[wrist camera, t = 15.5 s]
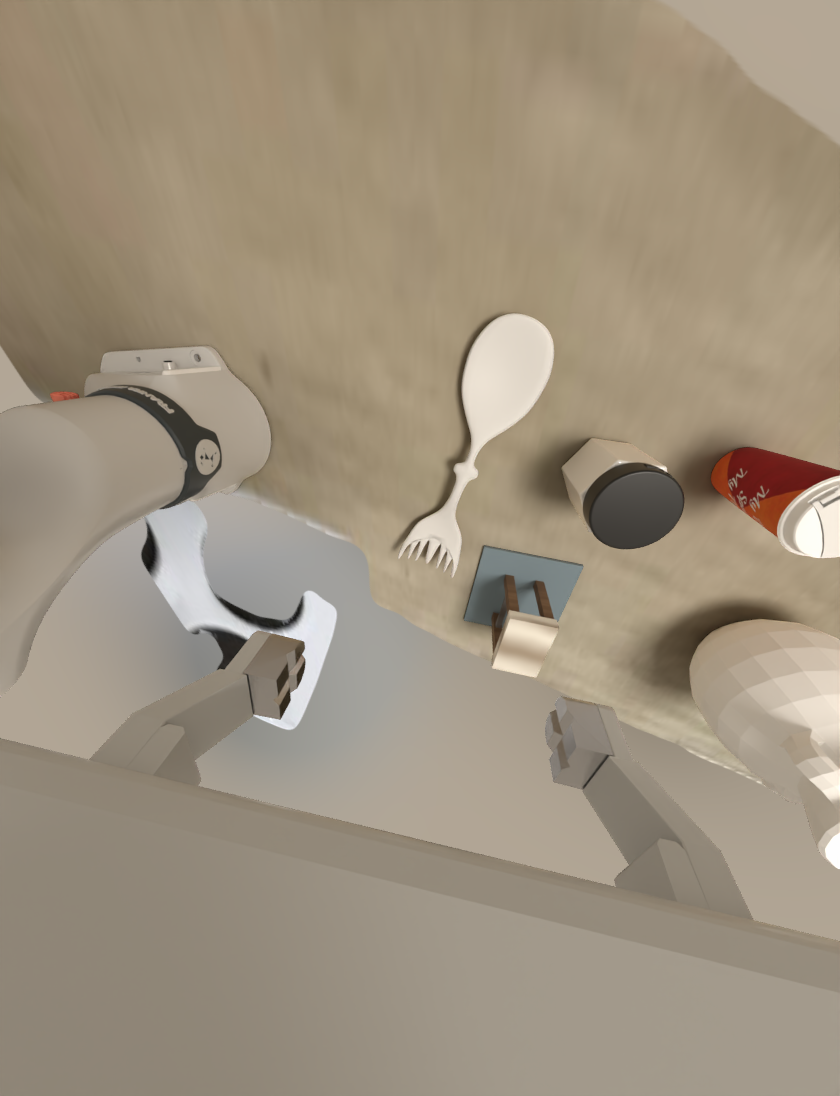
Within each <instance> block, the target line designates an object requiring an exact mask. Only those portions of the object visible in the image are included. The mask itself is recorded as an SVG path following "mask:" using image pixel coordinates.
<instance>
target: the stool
mask: <svg viewBox="0 0 840 1096" xmlns="http://www.w3.org/2000/svg"><path fill="white" fill-rule="evenodd" d="M504 588H505V598H504V601H503V604H502V607H501V610H500V613H494V612H493V615H492V618H491V621H492V642H493V656H492V668H494V669H498V670H503V671H508V672H513V673H517V674H522V675H526V676H531V677H537V675H538V673H539V670H540V668H541V666H542V664H543V662H544V660H545V658H546V656H547V654H548V651H549V649H550V647H551V645H552V643H553V641H554V639H555V637H556V635H557V632H558V630H559V626H558V622H557V620H555V619H554V617H553V613H552V609H551V606H550V602H549V598H548V595H547V591H546V588H545V584H544V582H542V581H537V580H536V581H535V584H534V586H533V588H534V592H535V597H536V601H537V606H538V610H539V615H540V616H536V615H531V614H526V613H521V612H519V605H518V599H517V592H516V586H515V579H514V576H512V575H507V574H506V575H505V578H504ZM506 611H507V617H506V620H505V623H504V626H503V628H502V622H503V619H504V617H505V614H506Z"/></svg>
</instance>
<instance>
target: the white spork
mask: <svg viewBox="0 0 840 1096" xmlns="http://www.w3.org/2000/svg"><path fill="white" fill-rule="evenodd" d="M553 360H554V344H553V340H552V337H551V335H550V333H549V331H548V330H547V328H546V327H545V326H544V325H543V324H542V323H541V322H539V321H538V320H536V319H534V318H532V317H530V316H527V315H524V314H517V313H513V314H506V315H503V316H500V317H498V318H496V319H495V320H493V321H492V322H490V323H489V324H488V325H487V326H486V327H485V328H484V329H483V330H482V332H481V333H480V334H479V335H478V337H477V338H476V340H475V342H474V343H473V345H472V347H471V349H470V352H469V354H468V357H467V360H466V364H465V368H464V372H463V377H462V388H461V391H462V401H463V406H464V411H465V415H466V419H467V422H468V426H469V430H470V434H471V447H470V451H469V455H468V457H467V459H466V461H464V462H463V463H456V464H455V466H454V469H453V471H454V472H455V473H456V482H455V485H454V488H453V490H452V493H451V495H450V497H449V499H448V500H447V502H446V503H445V505H444V506H443V507H442V508H441V509H440V510H438V511H437V512H435V513H433V514H431V515H429V516H427V517H425V518H424V519H422V520H420V521H419V522H418V523H417V524H416V525H415V526H414V527H413V529H412V530H411V532H410V533H409V535H408V536H407V538H406V539H405V541H404V543H403V545H402V547H401V549H400V551H399V555H398V559H399V558H400V557H401V555H402V554H403V552H404V551H405V549H406V547H407V546H408V545H409V544H411V546H410V550H409V554H408V559H409V557H410V556H411V554H412V552H413V550H414V549H415V547H416V545H417V544H418V542H419V541H420V545H419V548H418V552H417V555H416V560H417V559H418V557H419V556H420V554H421V552H422V550H423V548H424V546H425V545H426V543H427V541H428V540H429V546H428V550H427V555H426V564H427V563H428V562H429V561H430V560H431V558H432V557H433V555H434V553H435V551H436V550H437V548H438V546H439V545H440V544H441V548H440V553H439V557H438V561H437V565H436V568H438V566H439V564H440V562H441V560H442V558H443V556H444V554H445V552H446V551H447V556H446V561H445V565H444V570H443V572H445V570H446V569H447V567H448V565H449V563H450V561H451V560H452V559H453V565H452V570H451V578H452V577H453V576H454V574H455V572H456V569H457V566H458V562H459V557H460V551H461V544H462V538H461V533H460V530H459V527H458V524H457V521H456V517H455V512H456V508H457V504H458V502H459V499H460V497H461V494H462V492H463V490H464V488H465V486H466V484H467V483H468V482H469V481H470V480H472V479H476V478H477V476H478V470H477V469H476V468H475V467H474V461H475V458H476V456H477V454H478V453H479V451H480V449H481V448H482V447H483V446H484V445H485V444H486V443H487V442H488V441H489V440H491V439H492V438H494V437H495V436H497V435H499V434H500V433H502V432H503V431H505V430H507V429H508V428H510V427H511V426H513V425H514V424H515V423H517V422H518V421H519V420H521V419H522V418H523V417H524V416H525V415H526V414H527V413H528V412H529V411H530V410H531V408H532V407H533V406H534V404H535V403H536V401H537V400H538V398H539V397H540V395H541V393H542V392H543V390H544V388H545V386H546V384H547V382H548V380H549V377H550V374H551V371H552V366H553Z"/></svg>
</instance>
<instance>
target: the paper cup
mask: <svg viewBox="0 0 840 1096" xmlns="http://www.w3.org/2000/svg"><path fill="white" fill-rule="evenodd" d="M711 483H712V485H713V487H714V488H715V489H716V490H717V491H718V492H719V493H721V494H722V495H723V496H724V497H725V498H727V499H728V500H729V501H731V502H732V503H733V504H734V505H736V506H737V507H738V508H740V509H741V510H742V511H744V512H745V513H746V514H748V515H749V516H750V517H751V518H753V519H754V520H755V521H757V522H758V523H759V524H761V525H762V526H763V527H765V528H766V529H767V530H769V531H770V532H771V533H773V534H774V535H775V536H776V537H778V539H779V541H780V543H781V544H782V545H783V547H784V548H786V549H787V550H789V551H790V552H793V553H795V554H799V555H803V556H811V557H815V558H832V557H840V471H839V470H836V469H832V468H829V467H825V466H821V465H818V464H814V463H811V462H807V461H803V460H800V459H796V458H792V457H789V456H785V455H781V454H778V453H774V452H770V451H766V450H762V449H758V448H751V447H746V448H740V449H737V450H734V451H732V452H730V453H728V454H726V455H725V456H724V457H722V458H721V459H720V460H719V461H718V462H717V464H716V465H715V467H714V468H713V470H712V474H711Z"/></svg>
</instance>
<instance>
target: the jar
mask: <svg viewBox="0 0 840 1096" xmlns="http://www.w3.org/2000/svg"><path fill="white" fill-rule="evenodd" d="M562 472H563V476H564V480H565V484H566V488H567V492H568V495H569V499H570V501H571V503H572V504H573V506H574V508H575V509H576V511H577V513H578V515H579V516H580V518H581V520H582V521H583V523H584V525H585V526H586V528H587V530H588V531H589V532H592V533H593V534H594V535H595V537H596V538H597V539H598V540H599V541H601V542H602V543H604V544H606V545H608V546H610V547H613V548H618V549H635V548H640V547H644V546H647V545H650V544H652V543H654V542H656V541H658V540H660V539H661V538H663V537H664V536H665V535H666V534H668V533H669V532H670V531H671V530H672V529H673V528H674V526H675V525H676V524H677V522H678V521H679V519H680V517H681V515H682V512H683V508H684V494H683V491H682V489H681V487H680V485H679V484H678V482H677V481H676V480H675V479H674V478H673V477H672V476H671V475H670V474H668V473H667V467H666V466H664V465H662V464H661V463H659V462H658V461H656V460H655V459H653V458H652V457H650V456H649V455H647V454H646V453H644V452H643V451H641V450H640V449H638V448H636V447H635V446H633V445H632V444H630V443H624V442H617V441H610V440H602V439H596V438H591V439H590V440H589V441H588V442H587V443H586V444H585V445H584V446H583V447H582V448H581V449H580V450H579V451H578V452H577V453H576V454H575V455H574V456H572V457H571V458H570V459H569V460H568V461H567V462H566V463H565V464H564V465H563V466H562Z"/></svg>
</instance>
